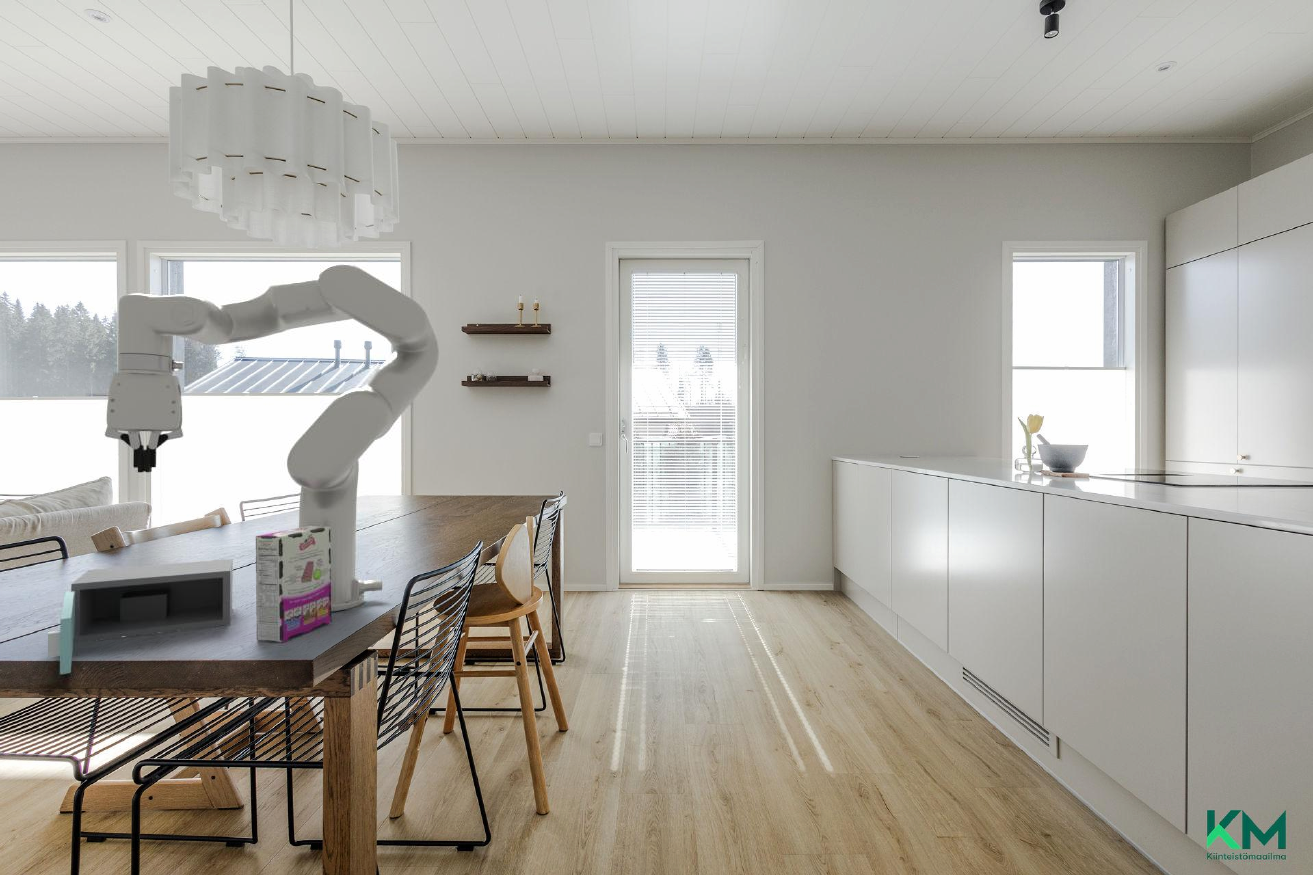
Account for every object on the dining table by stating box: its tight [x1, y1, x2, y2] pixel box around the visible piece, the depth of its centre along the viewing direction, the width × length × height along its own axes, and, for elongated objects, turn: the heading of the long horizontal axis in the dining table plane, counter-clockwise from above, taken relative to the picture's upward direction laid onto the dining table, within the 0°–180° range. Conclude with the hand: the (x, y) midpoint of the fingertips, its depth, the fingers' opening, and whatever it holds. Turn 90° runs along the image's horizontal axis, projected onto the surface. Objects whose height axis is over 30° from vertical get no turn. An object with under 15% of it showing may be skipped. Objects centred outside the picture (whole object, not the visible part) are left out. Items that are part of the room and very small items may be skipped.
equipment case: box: [70, 558, 234, 645], centre depth 108 cm, size 20×12×9 cm, turn 122°
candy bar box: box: [255, 526, 332, 644], centre depth 104 cm, size 11×5×16 cm, turn 168°
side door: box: [47, 590, 75, 675], centre depth 89 cm, size 19×2×7 cm, turn 41°
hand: (144, 471), depth 113 cm, fingers closed
